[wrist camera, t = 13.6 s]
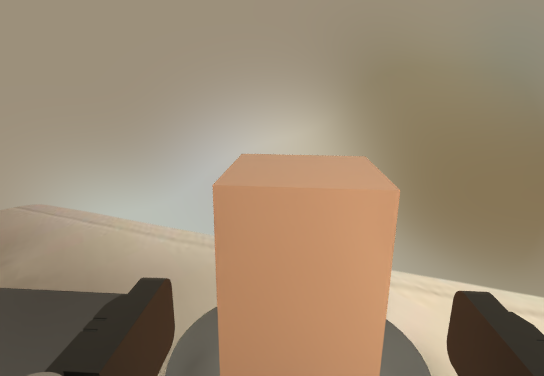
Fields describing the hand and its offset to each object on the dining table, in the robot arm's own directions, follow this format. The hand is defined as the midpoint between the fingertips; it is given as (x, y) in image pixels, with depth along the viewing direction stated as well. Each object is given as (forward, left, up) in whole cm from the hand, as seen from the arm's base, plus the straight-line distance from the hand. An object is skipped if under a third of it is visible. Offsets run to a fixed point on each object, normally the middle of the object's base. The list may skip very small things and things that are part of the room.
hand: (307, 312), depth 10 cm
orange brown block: (-3, +5, -7) cm, 9 cm away
